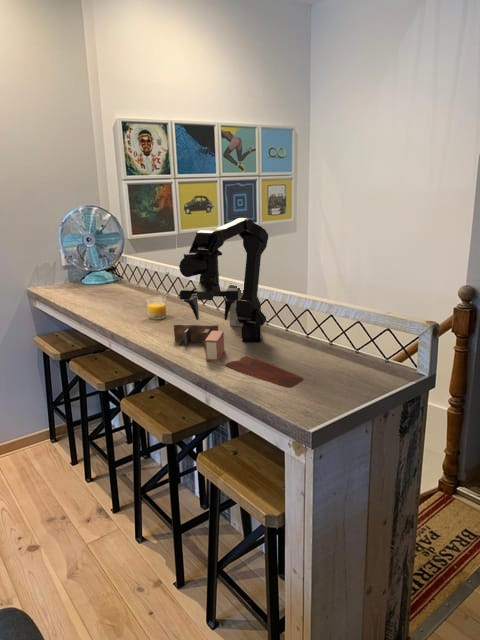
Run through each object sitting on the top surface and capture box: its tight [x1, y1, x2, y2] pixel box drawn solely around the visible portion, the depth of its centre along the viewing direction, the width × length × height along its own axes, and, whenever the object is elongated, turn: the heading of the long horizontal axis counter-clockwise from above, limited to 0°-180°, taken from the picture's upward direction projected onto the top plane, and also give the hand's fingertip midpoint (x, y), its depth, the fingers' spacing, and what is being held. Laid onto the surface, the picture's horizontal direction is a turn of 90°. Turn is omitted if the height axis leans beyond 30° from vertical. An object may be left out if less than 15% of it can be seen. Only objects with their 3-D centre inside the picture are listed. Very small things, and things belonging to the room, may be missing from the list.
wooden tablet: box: [224, 355, 305, 388], centre depth 147 cm, size 27×10×2 cm, turn 43°
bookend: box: [178, 328, 192, 347], centre depth 175 cm, size 3×6×5 cm, turn 171°
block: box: [204, 330, 225, 362], centre depth 162 cm, size 4×10×7 cm, turn 171°
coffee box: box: [227, 284, 243, 327], centre depth 195 cm, size 9×6×16 cm
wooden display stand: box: [173, 323, 219, 347], centre depth 174 cm, size 16×6×6 cm, turn 81°
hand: (211, 319), depth 157 cm, fingers open, 9 cm apart
